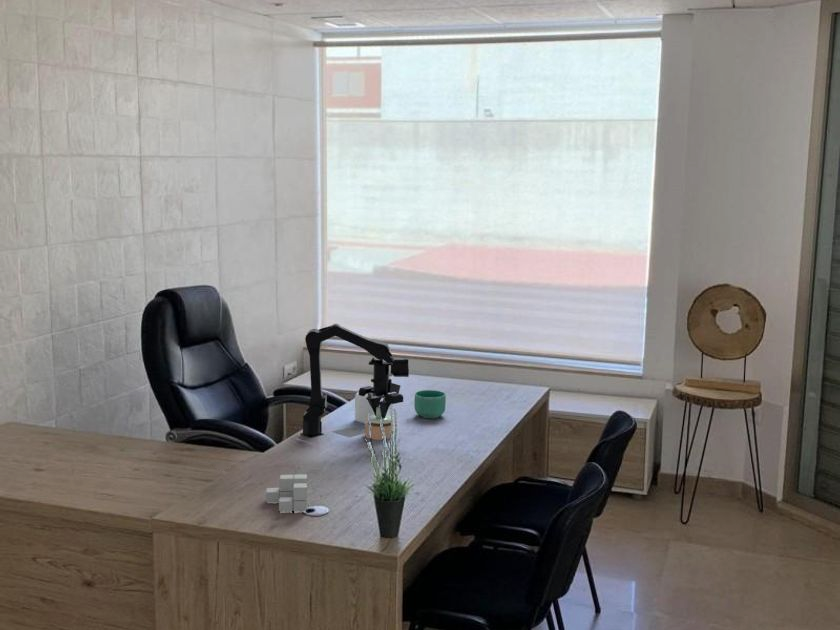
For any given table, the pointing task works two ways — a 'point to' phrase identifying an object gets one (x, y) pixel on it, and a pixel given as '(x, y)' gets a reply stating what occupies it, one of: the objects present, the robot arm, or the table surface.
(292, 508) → the puzzle cube
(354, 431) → the mat
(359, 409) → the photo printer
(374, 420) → the lid
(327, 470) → the table surface
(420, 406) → the mug
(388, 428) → the bowl
